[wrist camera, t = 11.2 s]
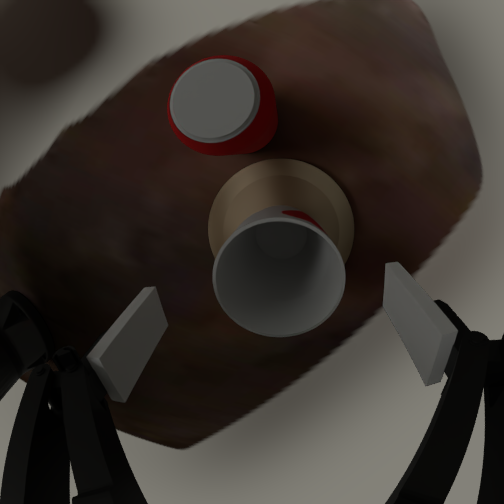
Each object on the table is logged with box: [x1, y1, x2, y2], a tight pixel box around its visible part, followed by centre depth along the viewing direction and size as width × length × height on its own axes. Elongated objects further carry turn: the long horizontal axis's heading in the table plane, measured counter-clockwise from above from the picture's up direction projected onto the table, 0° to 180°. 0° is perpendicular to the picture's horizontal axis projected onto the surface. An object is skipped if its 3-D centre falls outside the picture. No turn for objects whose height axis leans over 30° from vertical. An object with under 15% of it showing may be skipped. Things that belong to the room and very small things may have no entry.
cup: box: [213, 205, 345, 337], centre depth 21 cm, size 8×8×10 cm
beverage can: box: [167, 55, 278, 156], centre depth 18 cm, size 6×6×12 cm
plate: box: [208, 158, 354, 265], centre depth 26 cm, size 14×14×1 cm
